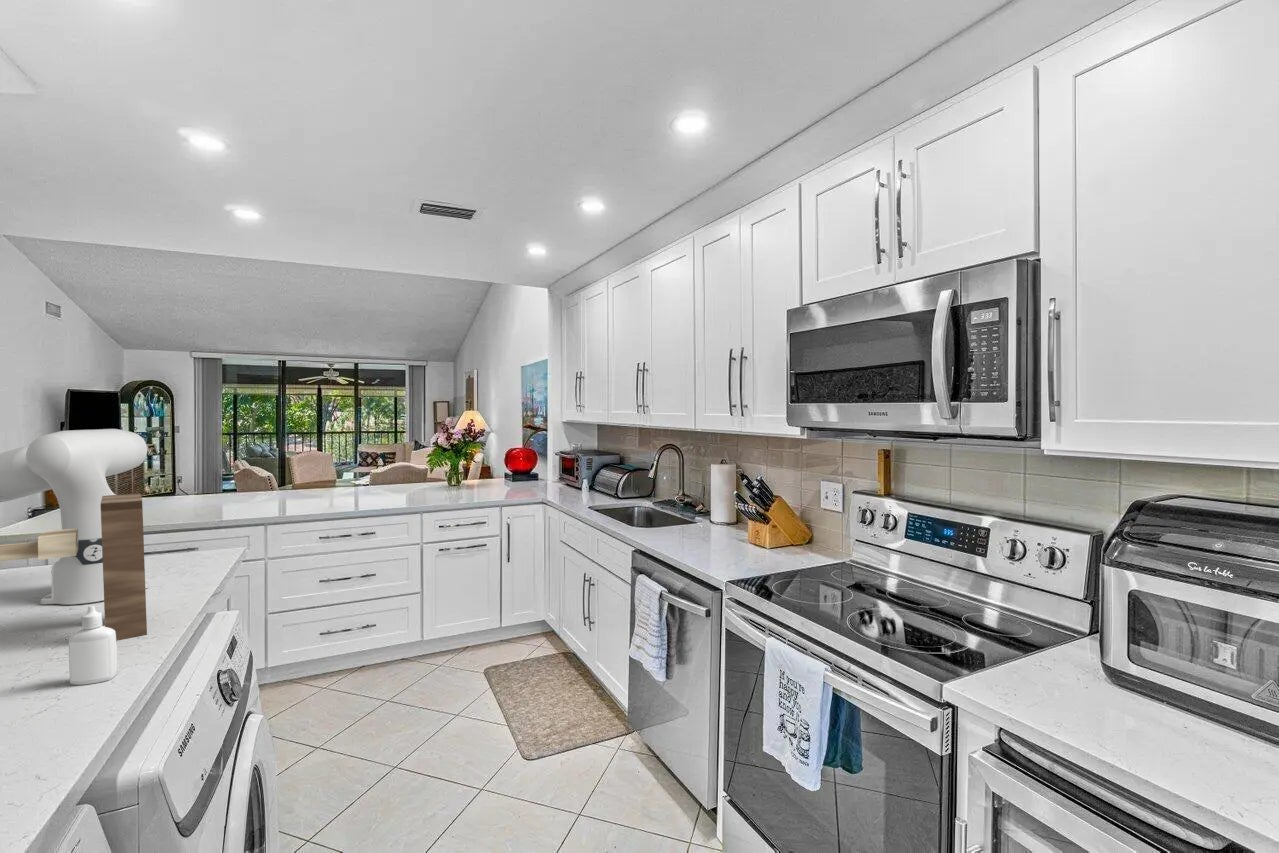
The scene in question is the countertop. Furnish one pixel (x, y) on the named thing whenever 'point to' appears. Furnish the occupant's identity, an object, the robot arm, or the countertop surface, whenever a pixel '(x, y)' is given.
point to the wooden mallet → (43, 546)
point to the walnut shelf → (123, 565)
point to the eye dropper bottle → (92, 651)
